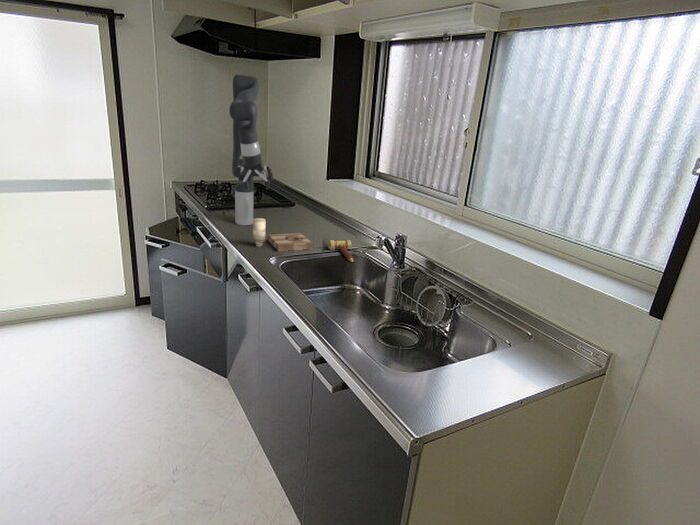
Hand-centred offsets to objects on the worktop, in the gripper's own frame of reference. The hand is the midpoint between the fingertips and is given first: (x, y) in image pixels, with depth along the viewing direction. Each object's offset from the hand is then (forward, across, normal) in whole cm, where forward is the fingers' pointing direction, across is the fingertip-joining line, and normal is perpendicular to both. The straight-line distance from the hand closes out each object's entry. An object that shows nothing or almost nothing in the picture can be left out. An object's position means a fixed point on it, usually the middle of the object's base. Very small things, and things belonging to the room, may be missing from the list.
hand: (257, 188), depth 191 cm
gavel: (+31, -36, +5) cm, 48 cm away
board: (+29, -10, -1) cm, 31 cm away
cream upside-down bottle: (+26, +3, +4) cm, 27 cm away
